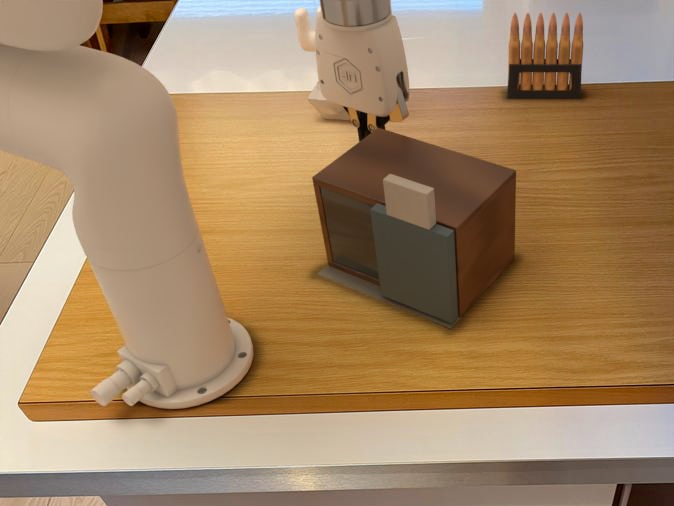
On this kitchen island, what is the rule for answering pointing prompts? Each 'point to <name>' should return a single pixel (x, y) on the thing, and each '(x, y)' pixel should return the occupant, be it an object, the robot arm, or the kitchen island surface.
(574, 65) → the ammunition clip
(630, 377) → the kitchen island surface
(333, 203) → the cabinet
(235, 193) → the kitchen island surface
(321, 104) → the figurine
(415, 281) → the grey sliding door
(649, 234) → the kitchen island surface
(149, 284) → the robot arm
